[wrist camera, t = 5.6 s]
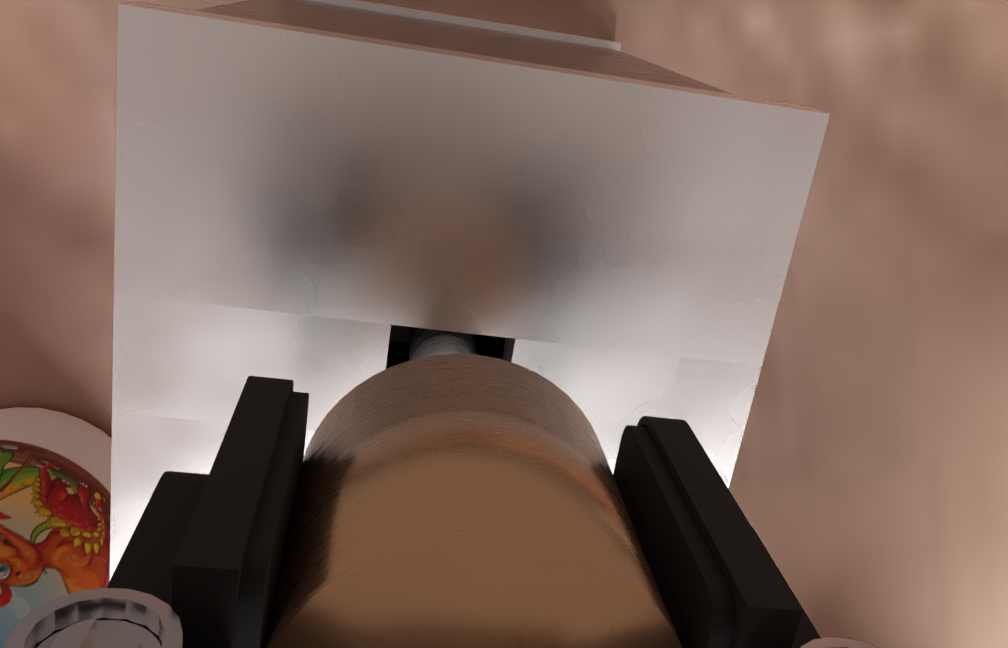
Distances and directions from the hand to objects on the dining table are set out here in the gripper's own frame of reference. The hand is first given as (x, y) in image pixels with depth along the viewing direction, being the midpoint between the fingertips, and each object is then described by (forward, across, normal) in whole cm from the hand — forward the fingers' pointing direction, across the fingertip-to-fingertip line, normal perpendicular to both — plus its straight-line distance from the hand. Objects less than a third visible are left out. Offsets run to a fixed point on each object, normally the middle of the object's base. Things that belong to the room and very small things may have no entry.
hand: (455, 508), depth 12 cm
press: (+20, 0, +1) cm, 20 cm away
